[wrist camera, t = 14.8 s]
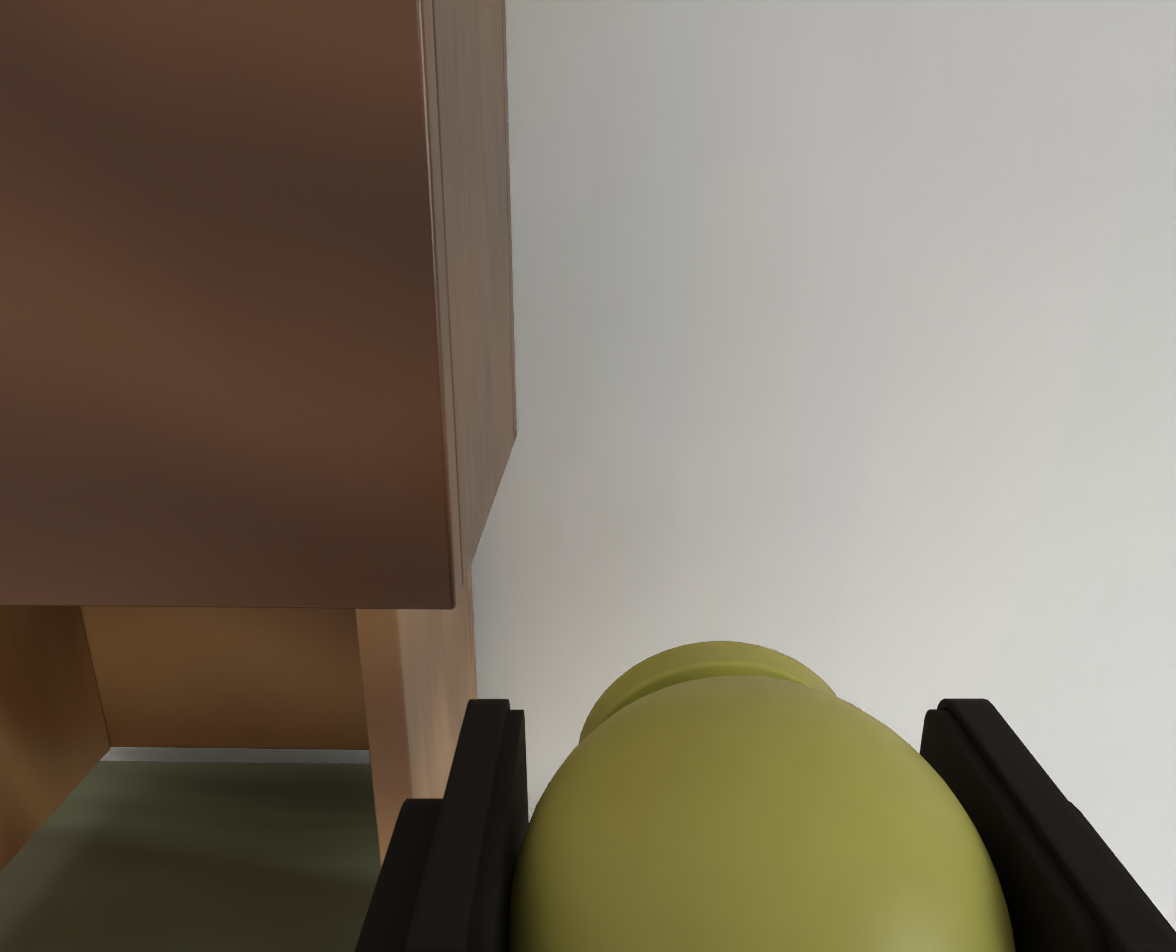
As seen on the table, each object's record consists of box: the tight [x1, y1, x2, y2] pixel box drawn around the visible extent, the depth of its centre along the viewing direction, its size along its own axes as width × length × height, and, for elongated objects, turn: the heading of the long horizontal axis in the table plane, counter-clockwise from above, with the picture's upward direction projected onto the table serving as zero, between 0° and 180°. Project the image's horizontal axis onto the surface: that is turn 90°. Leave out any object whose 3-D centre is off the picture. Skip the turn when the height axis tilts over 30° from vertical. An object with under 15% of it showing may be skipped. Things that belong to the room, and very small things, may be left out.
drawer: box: [0, 565, 477, 952], centre depth 21 cm, size 20×13×9 cm
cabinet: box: [0, 0, 517, 610], centre depth 16 cm, size 16×15×11 cm
